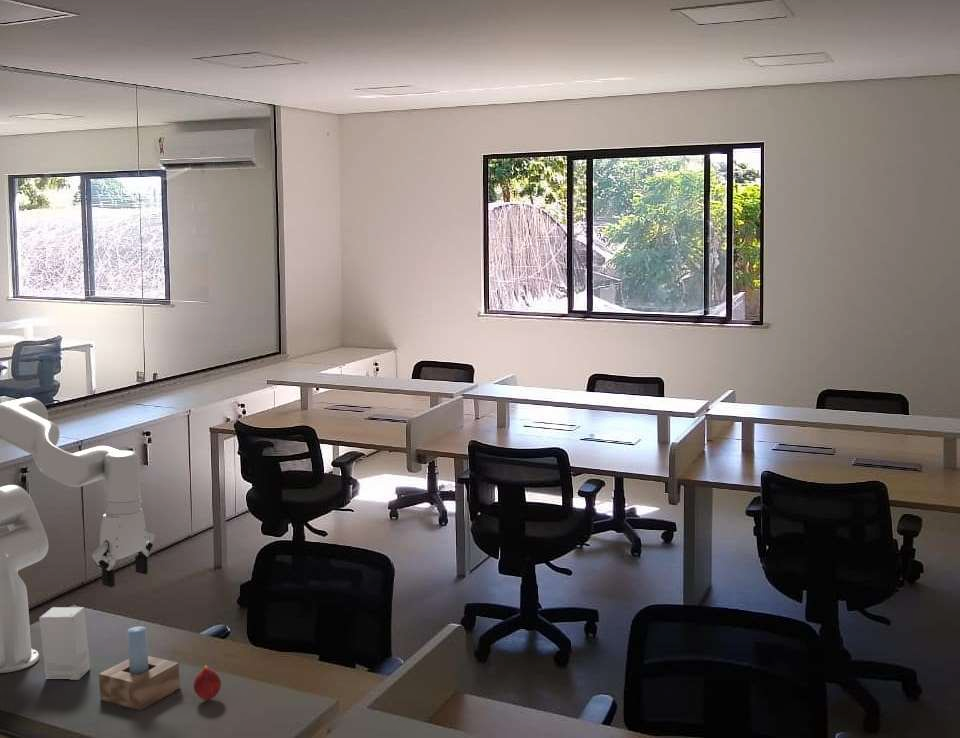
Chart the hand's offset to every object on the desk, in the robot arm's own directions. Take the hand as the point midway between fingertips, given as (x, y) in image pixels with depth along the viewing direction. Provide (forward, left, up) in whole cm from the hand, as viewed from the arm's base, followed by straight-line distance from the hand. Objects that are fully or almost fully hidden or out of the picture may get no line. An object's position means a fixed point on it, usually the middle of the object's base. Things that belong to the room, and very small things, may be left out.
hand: (125, 579), depth 236 cm
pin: (+6, -3, -24) cm, 25 cm away
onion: (+22, +1, -25) cm, 33 cm away
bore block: (+6, -3, -25) cm, 26 cm away
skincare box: (-17, -3, -25) cm, 30 cm away
